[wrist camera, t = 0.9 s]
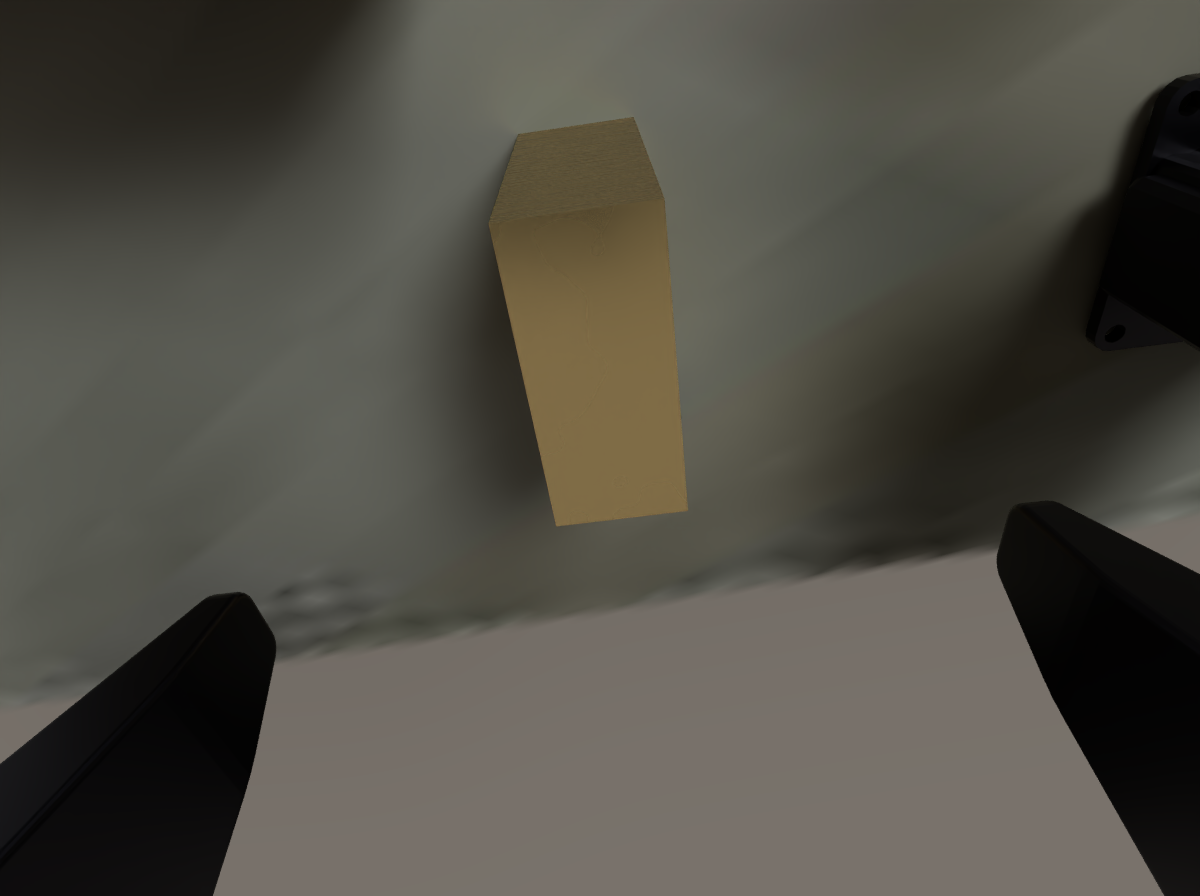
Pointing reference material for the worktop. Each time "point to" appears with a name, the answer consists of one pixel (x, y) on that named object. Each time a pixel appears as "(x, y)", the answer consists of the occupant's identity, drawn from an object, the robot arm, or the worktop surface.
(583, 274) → the wooden rectangular block
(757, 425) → the worktop surface
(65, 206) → the worktop surface
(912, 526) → the worktop surface
